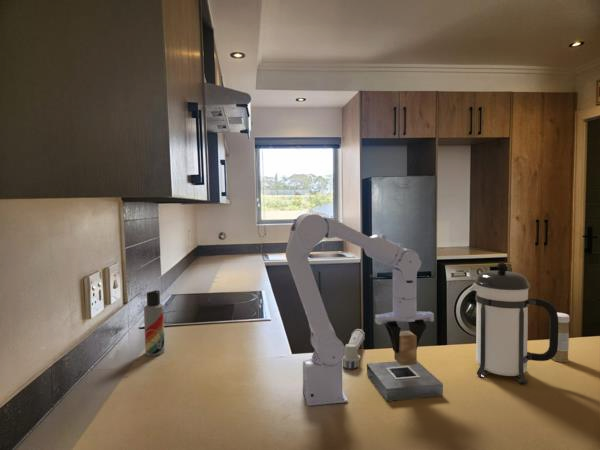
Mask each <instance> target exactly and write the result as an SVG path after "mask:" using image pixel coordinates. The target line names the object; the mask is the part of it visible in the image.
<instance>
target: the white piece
mask: <svg viewBox="0 0 600 450" xmlns="http://www.w3.org/2000/svg"><path fill="white" fill-rule="evenodd" d="M365 337H366V335H365V332H364V330H363V329H362V328H356V329H354V330H353V331H352V332H351V335H350V339H349V341H348V343H346V344H345V345H344V348H345V353H344V357H343V358H342V367H344V368H346V369H357V368H359V367H360V360H361V355H359V348H360V346H361V344H362V343H363V342H364V341H365Z"/></svg>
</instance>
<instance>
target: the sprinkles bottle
mask: <svg viewBox="0 0 600 450" xmlns="http://www.w3.org/2000/svg"><path fill="white" fill-rule="evenodd" d="M556 312H557V311H556ZM557 315H558V349H557V353H556V355H555V356H554V357H553V358H552V359H551V360H552V361H555V362H558V363H559V362H560V363H568V362H569V345H570V344H569V343H570V342H569V341H570V332H569V329H570V328H569V327H570V325H569V324H570V321H571V320H570V315H569V314H567V313H564V312H557Z"/></svg>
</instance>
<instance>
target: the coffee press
mask: <svg viewBox="0 0 600 450" xmlns="http://www.w3.org/2000/svg"><path fill="white" fill-rule="evenodd" d="M496 268H497V269H498V270H486V271H483V272H480V273H479V274H478V276H477V277H476V279H474V283H473V284H472V285H471V286H470V287H469V290H470V291H475V292H476V293H475V301H476V325H475V326H476V329H475V330H476V332H475V333H476V335H475V336H476V339H475V340H476V341H475V342H476V343H475V344H476V346H475V347H476V348H475V349H476V350H475V353H476V355H475V356H476V363H477V364H478V366H479V368H478V369H477V372H476V375H477V376H479V377H480V378H485V377H486V375H488V373H491V374H495V375H498V376H505V377H514V378H515V379H516V380H517V382H518V384H519V385H520V386H522V385H526V384H528V379H527V377H526V376H525V373H526V372H527V370H528V362H529V361H536V362H547V361H549V360H552V358H553V357H554V356H555V355H556V353H557V349H558V315H557V310H556V308H555V307H554V305H553V304H551V303H550V302H549V301H547V300H544V299H541V298H530V297H529V289H530V288H531V283H530V282H529V281H528V278H527V277H525V276H524V275H522V274H521V273H518V272H516V271H515V272H514V271H508V270H506V269H507V268H508V266H507V264H506V263H505V262H499V263H497V265H496ZM530 305H531V306H536V307H542V308H544V309H545V310H546V311H547V313H548V314H549V340H548V341H549V343H548V344H549V347H548V349H547V350H546V351H545V352H543V353H536V352H529V351H528V330H529V329H528V320H529V318H528V316H529V312H528V310H529V309H528V307H529V306H530Z"/></svg>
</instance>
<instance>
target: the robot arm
mask: <svg viewBox="0 0 600 450" xmlns="http://www.w3.org/2000/svg"><path fill="white" fill-rule="evenodd" d="M289 228H290V231H289V237H288V240H287V245H286V250H285V259H286V261H287V264H288V267H289V269H290V272H291V276H292V278H293V281H294V283H295V287H296V289H297V293H298V296H299V298H300V302H301V304H302V306H303V310H304V312H305V315H306V318H307V321H308V326H309V329H310V344H311V345H312V347H313V349H314V351H313V354H312V355H311V358H309V359H307V360H304V361H302V392H303V396H304V398H305V400H306V405H307V406H309V407H310V406H311V407H312V406H320V405H321V406H322V405H328V404H329V405H331V404H339V403H340V404H342V403H347V402H349V401H348V397H347V396H346V393H345V392H344V391H343V359H342V358H343V357H344V353H345V345H344V343H343V342H342V340H340V339H339V338H338V337H337V335H336V332H335V330H334V327H333V325H332V323H331V321H330V319H329V316H328V313H327V310H326V308H325V304H324V301H323V298H322V295H321V292H320V290H319V287H318V283H317V282H316V279H315V278H316V277H315V275H314V273H313V270H312V266H311V264H310V261H309V257H310V254H311V253H312V251H313V249H314V248H315V246H316V245H318V244H319V243H320V242H321V241H322V240H323V239H324V238H325V239H333V238H338V239H340V240H342V241H345V242H348V243H350V244H352V245H354V246H357V247H359V248H361V249H363V251H364V255H366V257H369V258H371V259H373V260H375V261H376V262H380V263H382V264H384V265H386V266H389V267H390V268H392V311H391V312H385V313H380V314H379V313H378V314H374V317H375V318H374V322H375V323H376V324H377V325H378V326H379V325H382V324H383V325H384V327H385V328H386V331H387V333H388V335H389V336H388V337H389V338H390V339H389V340H390V342H391V345H392V350H393V352H394V351H395V352H396V353H399V335H400V331H402V329H401V327H400V326H399V324H398V323H408V327H409V331H411V332H412V333H413V334H415V335H416V336H417V348H418V346H419V342H420V340H421V337H422V335H423V333H424V332H425V330H426V329H427V323H425V321H426V322H427V321H429V322H435V314H434V312H432V311H418V309H417V306H418V305H417V297H418V296H417V291H418V290H417V287H418V285H417V284H418V283H417V281H418V280H417V279H418V277H417V276H418V275H417V274H418V271H419V270H420V269H421V266H422V260H420V256H419V254H418V253H417V252H416V251H415V250H414V249H410V248H405V247H404V244H403V243H400V242H397V243H396V242H394V241H391V240H390V239H387V236H386V235H384V234H382V233H381V234H373V235H370V236H369V235H366V234H364V233H362V232H361V231H358V230H356V229H354V228H352V227H350V226H348V225H347V224H344V223H342V222H341V221H338V220H335V219H331V218H328V217H323V216H321V215H320V214H318V213H316V214H315V213H302V214H300V215H298V216H297V218H295V220H294V222H293V223H292V225H291V226H290V227H289Z"/></svg>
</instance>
